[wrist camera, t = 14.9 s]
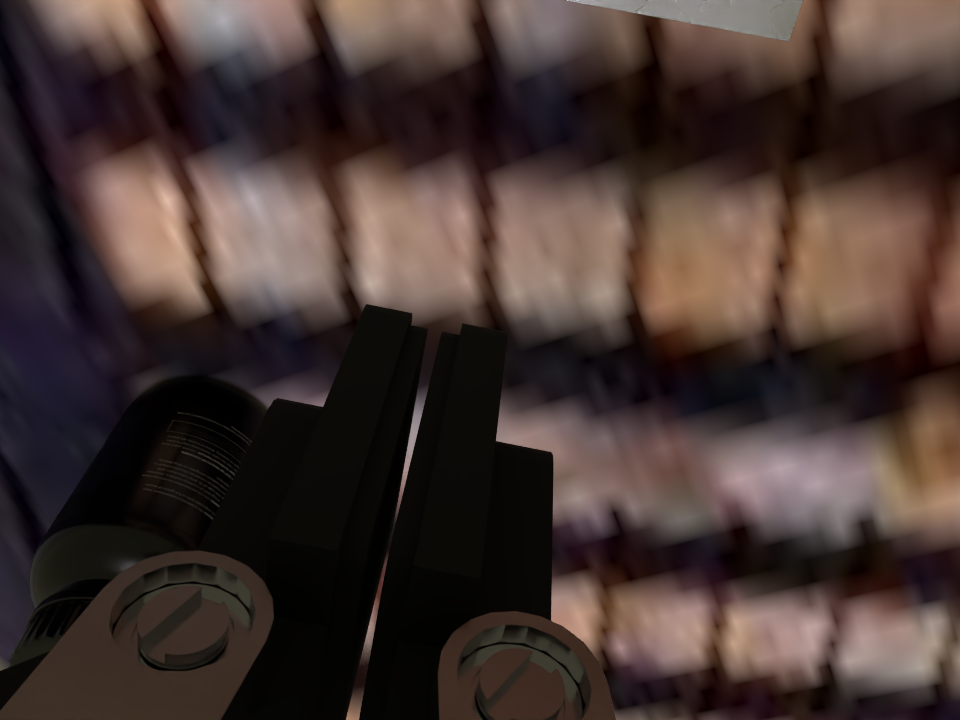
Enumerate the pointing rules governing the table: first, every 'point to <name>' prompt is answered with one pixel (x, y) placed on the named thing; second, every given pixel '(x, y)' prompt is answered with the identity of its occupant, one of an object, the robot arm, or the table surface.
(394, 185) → the table surface
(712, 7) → the jig
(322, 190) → the table surface
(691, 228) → the table surface
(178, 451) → the supplement bottle
